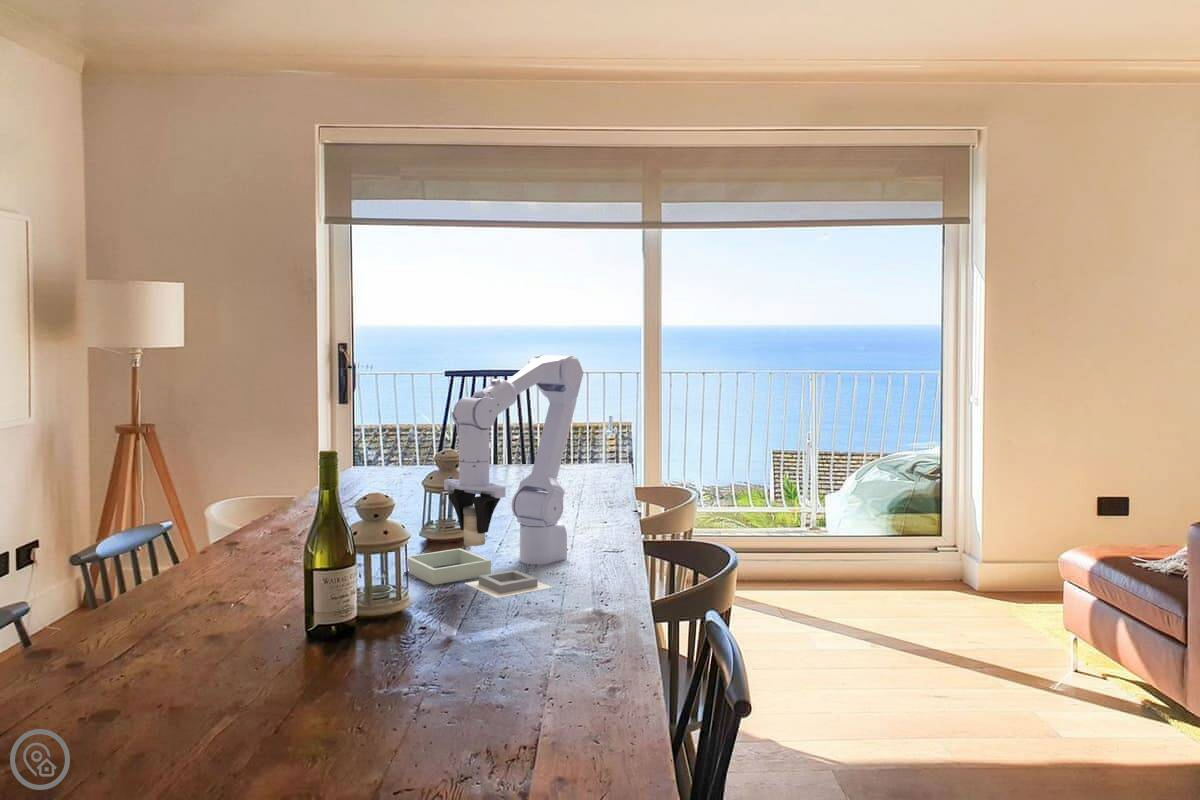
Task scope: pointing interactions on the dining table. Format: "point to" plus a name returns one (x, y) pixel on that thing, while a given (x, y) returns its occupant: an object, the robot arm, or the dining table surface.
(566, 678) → the dining table surface
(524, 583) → the square socket plate
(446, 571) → the bin
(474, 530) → the strut
